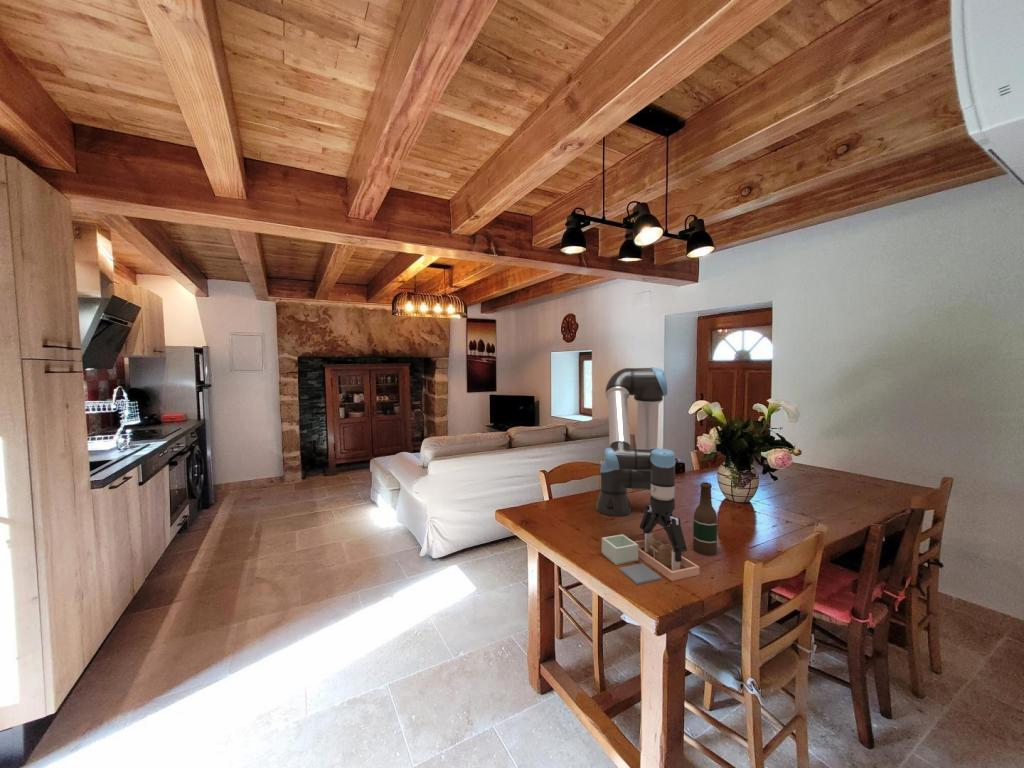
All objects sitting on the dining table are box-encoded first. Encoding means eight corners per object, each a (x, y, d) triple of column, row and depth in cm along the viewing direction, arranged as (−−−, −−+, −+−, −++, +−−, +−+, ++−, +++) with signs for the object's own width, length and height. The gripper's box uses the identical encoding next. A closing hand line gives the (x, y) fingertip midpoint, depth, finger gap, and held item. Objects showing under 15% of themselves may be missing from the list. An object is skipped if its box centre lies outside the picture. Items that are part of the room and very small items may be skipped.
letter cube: (647, 558, 129) (647, 541, 129) (662, 556, 131) (662, 538, 131) (660, 567, 124) (660, 548, 123) (675, 564, 126) (675, 546, 125)
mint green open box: (601, 553, 133) (601, 537, 133) (622, 549, 136) (622, 534, 136) (616, 565, 125) (616, 548, 125) (638, 560, 128) (638, 544, 128)
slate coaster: (619, 569, 122) (619, 567, 122) (642, 565, 125) (642, 563, 125) (637, 584, 114) (637, 582, 114) (661, 579, 117) (661, 577, 117)
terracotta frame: (628, 549, 136) (628, 542, 136) (652, 544, 139) (652, 537, 139) (671, 581, 116) (672, 572, 116) (699, 574, 119) (699, 566, 119)
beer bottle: (710, 558, 129) (711, 488, 128) (688, 549, 136) (689, 482, 135) (721, 551, 134) (722, 483, 133) (699, 543, 140) (700, 478, 139)
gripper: (629, 487, 137) (629, 546, 138) (680, 511, 114) (679, 581, 115) (647, 485, 139) (646, 543, 140) (700, 508, 116) (699, 577, 117)
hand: (661, 560), depth 127 cm, fingers open, 12 cm apart
